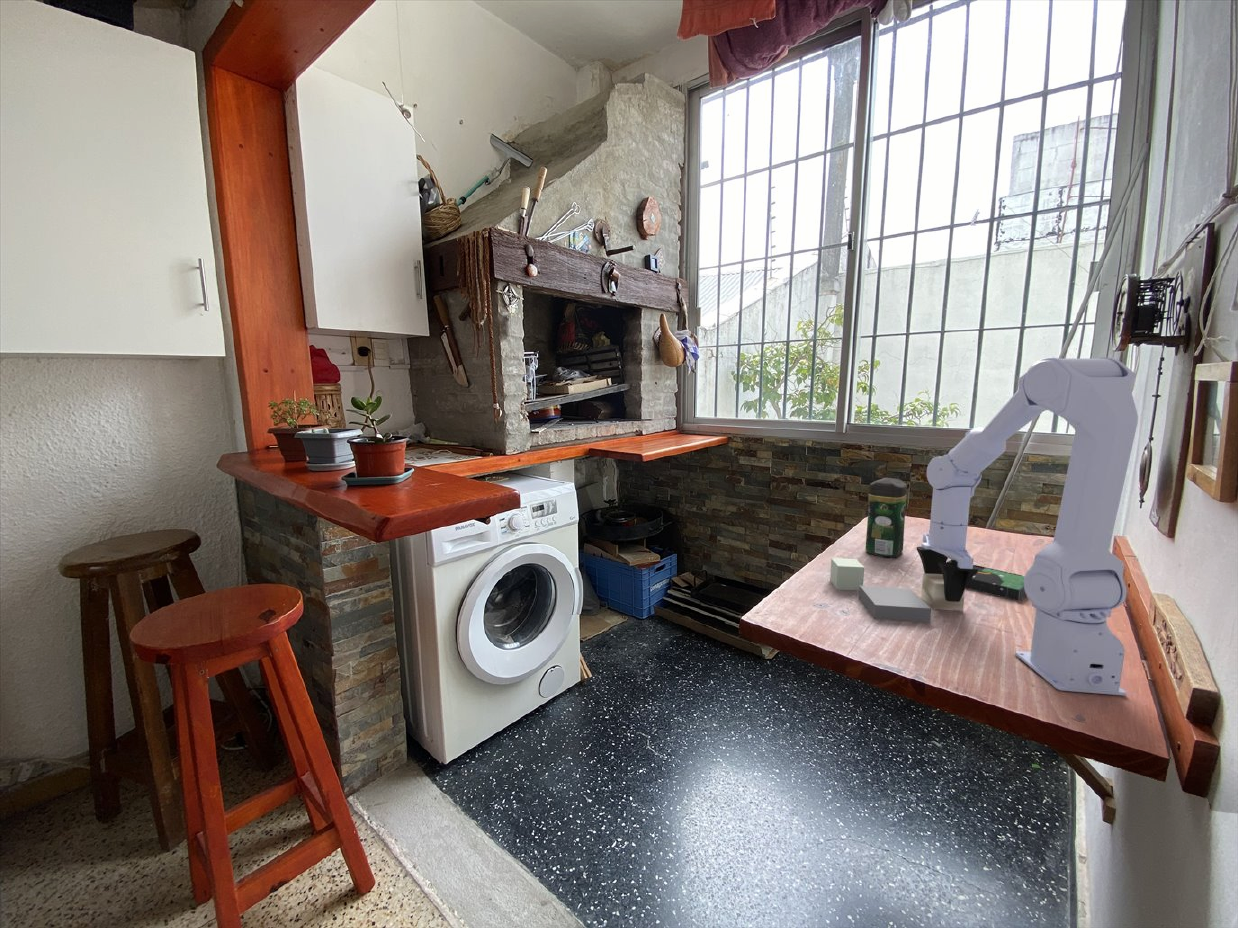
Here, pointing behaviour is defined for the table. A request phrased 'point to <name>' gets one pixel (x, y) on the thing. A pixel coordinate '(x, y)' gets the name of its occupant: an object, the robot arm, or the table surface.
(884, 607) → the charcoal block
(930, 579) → the birch cube
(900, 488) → the coffee jar
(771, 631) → the table surface
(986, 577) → the disk drive
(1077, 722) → the table surface
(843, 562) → the sage cube
